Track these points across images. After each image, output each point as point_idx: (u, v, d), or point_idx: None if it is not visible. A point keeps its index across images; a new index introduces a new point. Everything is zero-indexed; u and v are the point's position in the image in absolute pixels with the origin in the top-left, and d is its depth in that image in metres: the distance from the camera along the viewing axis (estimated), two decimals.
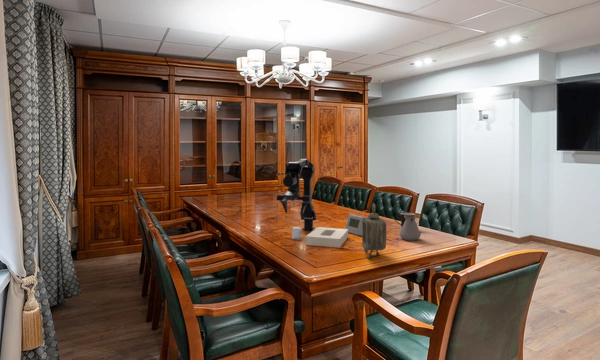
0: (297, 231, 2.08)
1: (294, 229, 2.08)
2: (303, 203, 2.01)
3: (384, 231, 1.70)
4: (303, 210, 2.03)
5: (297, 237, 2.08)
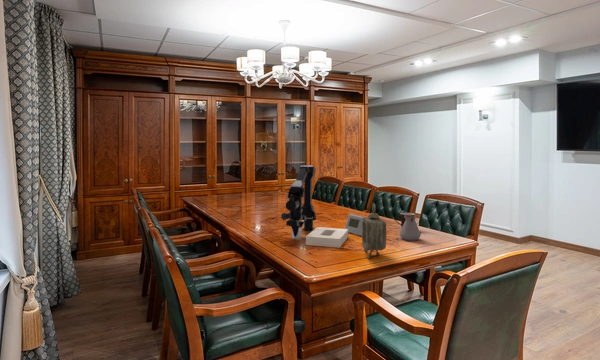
0: None
1: None
2: None
3: (384, 231, 1.70)
4: (294, 232, 2.08)
5: (297, 237, 2.08)
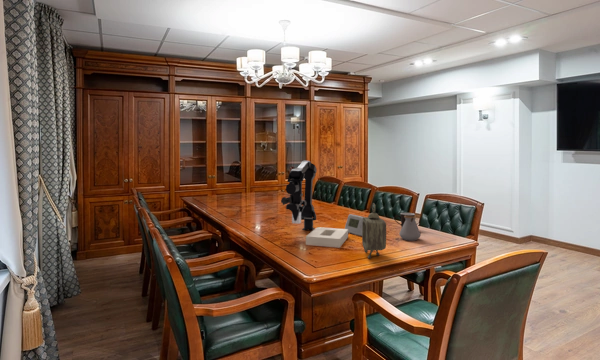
0: None
1: None
2: None
3: (384, 231, 1.70)
4: (294, 217, 2.07)
5: (297, 221, 2.07)
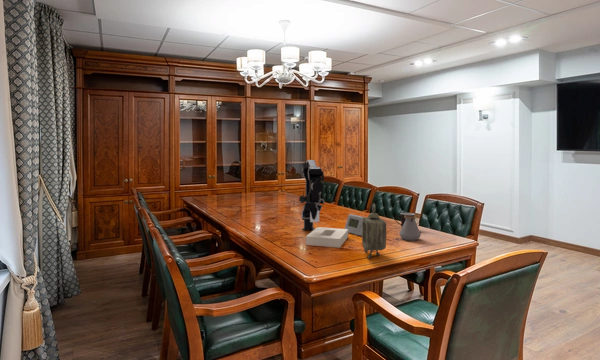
0: None
1: None
2: None
3: (384, 231, 1.70)
4: (312, 215, 2.03)
5: (315, 220, 2.04)
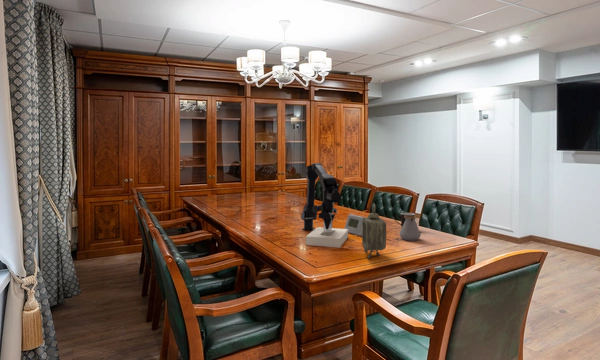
0: None
1: None
2: None
3: (384, 231, 1.70)
4: (326, 225, 2.02)
5: (329, 230, 2.03)
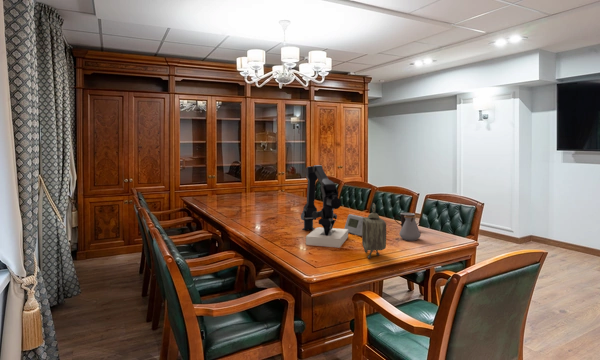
0: (329, 232, 2.03)
1: None
2: None
3: (384, 231, 1.70)
4: (325, 232, 2.01)
5: None
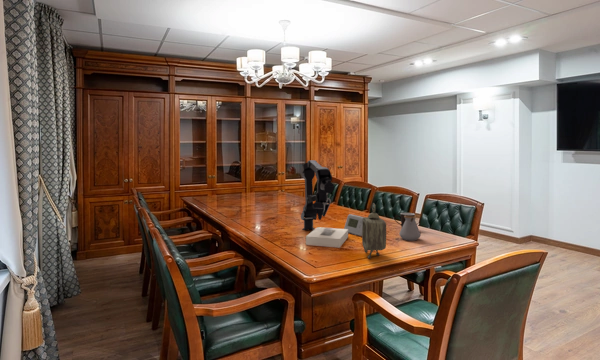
0: (329, 232, 2.03)
1: (326, 230, 2.03)
2: None
3: (384, 231, 1.70)
4: (318, 216, 2.05)
5: None
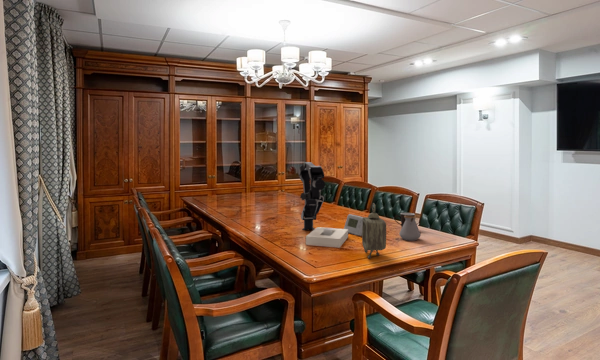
0: (329, 232, 2.03)
1: (326, 230, 2.03)
2: None
3: (384, 231, 1.70)
4: (312, 212, 2.11)
5: None
